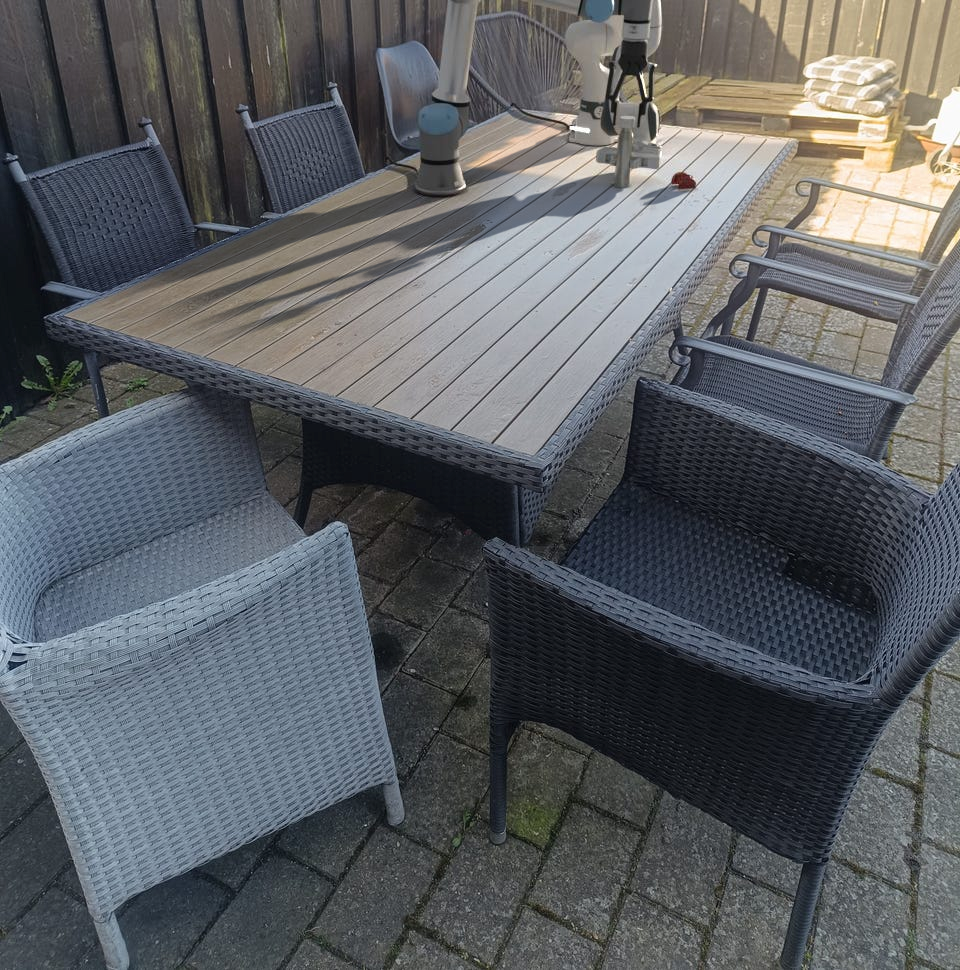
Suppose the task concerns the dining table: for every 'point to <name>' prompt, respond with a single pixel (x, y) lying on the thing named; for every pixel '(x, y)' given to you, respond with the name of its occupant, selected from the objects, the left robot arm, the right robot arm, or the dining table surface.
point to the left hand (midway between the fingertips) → (627, 125)
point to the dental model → (683, 180)
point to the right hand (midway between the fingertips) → (622, 164)
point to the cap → (627, 121)
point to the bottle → (623, 158)
